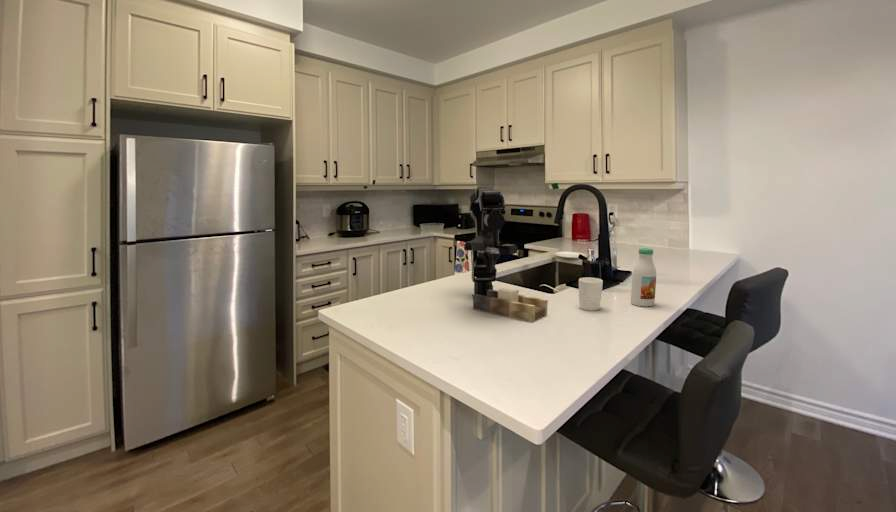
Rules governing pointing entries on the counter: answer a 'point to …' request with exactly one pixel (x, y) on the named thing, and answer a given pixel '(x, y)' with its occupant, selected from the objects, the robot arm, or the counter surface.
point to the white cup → (590, 293)
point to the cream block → (508, 294)
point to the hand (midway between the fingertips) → (489, 272)
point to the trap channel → (511, 306)
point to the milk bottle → (644, 279)
